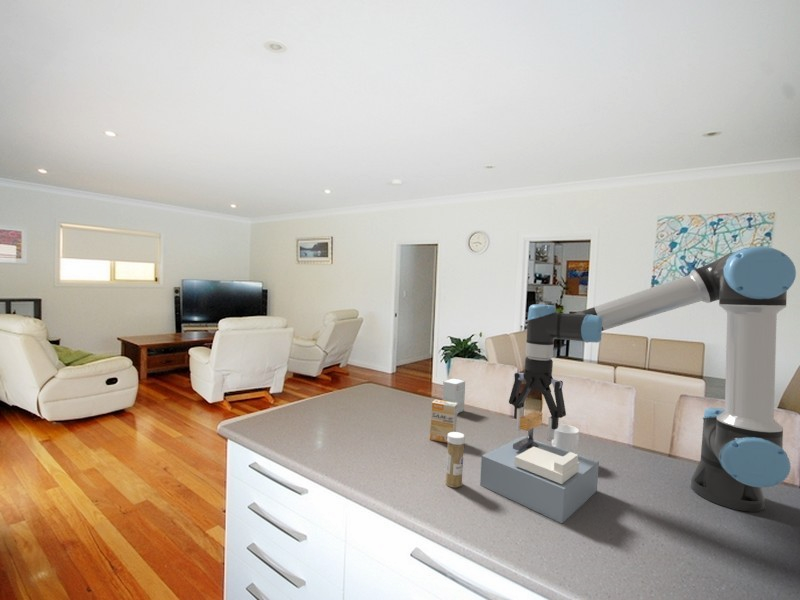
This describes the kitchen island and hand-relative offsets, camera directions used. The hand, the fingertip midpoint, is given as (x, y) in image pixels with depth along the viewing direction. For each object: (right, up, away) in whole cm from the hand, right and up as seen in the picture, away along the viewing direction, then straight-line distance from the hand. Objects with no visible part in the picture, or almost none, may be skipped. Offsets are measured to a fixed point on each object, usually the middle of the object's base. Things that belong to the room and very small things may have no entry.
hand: (534, 434), depth 114 cm
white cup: (+12, -11, +8) cm, 18 cm away
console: (-2, -11, -10) cm, 15 cm away
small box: (-17, -8, +51) cm, 55 cm away
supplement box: (-25, -9, +20) cm, 33 cm away
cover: (-3, -3, -16) cm, 17 cm away
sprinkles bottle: (-25, -10, -10) cm, 29 cm away
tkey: (-3, -2, -3) cm, 5 cm away
